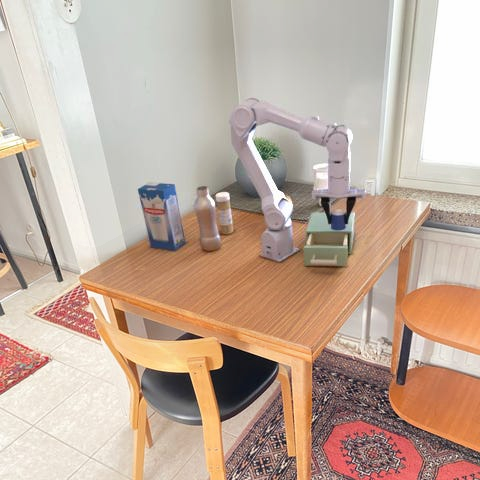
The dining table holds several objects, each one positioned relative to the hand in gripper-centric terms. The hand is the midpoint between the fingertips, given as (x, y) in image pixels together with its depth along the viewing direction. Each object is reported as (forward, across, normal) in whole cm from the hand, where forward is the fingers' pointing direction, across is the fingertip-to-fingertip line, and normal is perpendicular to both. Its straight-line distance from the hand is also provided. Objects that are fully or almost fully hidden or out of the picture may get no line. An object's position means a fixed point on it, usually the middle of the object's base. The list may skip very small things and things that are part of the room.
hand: (338, 222), depth 136 cm
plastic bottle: (+11, +40, -4) cm, 42 cm away
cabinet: (+10, +3, -8) cm, 14 cm away
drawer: (+10, +3, +4) cm, 11 cm away
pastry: (+11, +24, -38) cm, 46 cm away
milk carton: (+11, +56, -6) cm, 58 cm away
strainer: (+11, +8, -41) cm, 43 cm away
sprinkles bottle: (+11, +39, -17) cm, 43 cm away
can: (+1, 0, 0) cm, 1 cm away
